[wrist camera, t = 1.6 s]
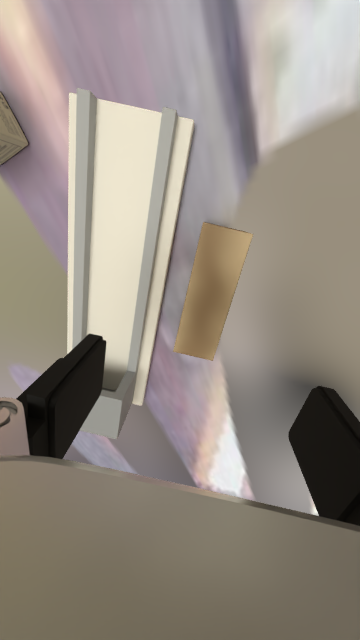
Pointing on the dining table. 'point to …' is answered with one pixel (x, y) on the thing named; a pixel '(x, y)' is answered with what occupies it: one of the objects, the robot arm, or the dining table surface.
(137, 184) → the board
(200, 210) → the dining table surface
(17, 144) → the skincare box
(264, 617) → the robot arm
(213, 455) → the dining table surface
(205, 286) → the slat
